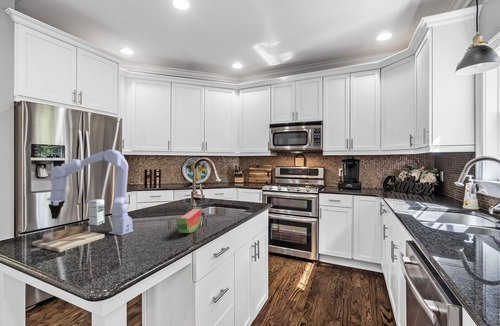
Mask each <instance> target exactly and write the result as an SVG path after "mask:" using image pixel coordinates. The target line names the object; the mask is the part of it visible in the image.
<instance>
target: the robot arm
mask: <svg viewBox="0 0 500 326" xmlns="http://www.w3.org/2000/svg"><path fill="white" fill-rule="evenodd" d="M99 161H105V162H108V163H110V164H112V165H113V166H114V167H115V168H117V172H116V183H115V197H114V201H113V204H112V205H113V206H112V207H111V209H110V213H111V215H112V231H111V230H110V231H109V232H108V234H112V235H117V236H123V235H126V234H129V233H132V232H135V230H134V229H133V218H132V217H131V216H129V214H128V211H129V204H128V198H127V191H128V189H127V188H128V177H129V175H128V173H129V164H128V162H127V160H126V158H125V156H124V154H123V153H122V152H120V151H119V150H117V149H114V150H113V149H106V150H103V151H100V152H98V153H97V152H96V153H95V154H93V155H90V156H88V157H85V158H84V159H77V158H76V159H75V158H73V159H71V160H70V162H67V163H62V164H60V165H61V166H60V165H56V166H54V167H53V168H52V169H51V170H50V175H51V176H52V181H51V189H50V197H48V198H46V200H47V201H50V203H49V204H48V208H49V210H50V215H51V219H52V220H57V219H58V218H59V215H60V214H61V210H62V208H63V206H64V204H65V202H66V189H67V181H68V177H69V176H70V175H72V174H74V173H77V172H79V171H82V170H83V169H84V168H85V166H89V165H91V164H93V163H97V162H99Z"/></svg>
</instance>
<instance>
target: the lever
mask: <svg viewBox="0 0 500 326" xmlns="http://www.w3.org/2000/svg"><path fill="white" fill-rule="evenodd" d="M84 231H87V224H86V223H82V224H80V225H75V226H72V227H68V228H64V229H60V230H56V231H51V232H45V233H43V234H42V239H43V242H49V241H52V240H55V239H59V238H62V237H66V236H69V235H73V234H77V233H80V232H84Z"/></svg>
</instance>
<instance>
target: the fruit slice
mask: <svg viewBox="0 0 500 326" xmlns="http://www.w3.org/2000/svg"><path fill="white" fill-rule="evenodd" d="M201 219H202V207H198V206H196V207H192V209H191V210H189V212H186V213H185V214H184V215H182V216H181V217H176V227H177V231H178V233H180V234H191V233H194V232H195V231H196V230H197V229H198V227H199V226H200V224H201Z"/></svg>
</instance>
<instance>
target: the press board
mask: <svg viewBox="0 0 500 326" xmlns="http://www.w3.org/2000/svg"><path fill="white" fill-rule="evenodd" d="M104 238H105V234H103V233H98V232H95V231H93V232H92V231H87V230H86V231H84V232H80V233H77V234H73V235H69V236H66V237H62V238H59V239H55V240H52V241H49V242H43V238H42V239H39V240H36V241H32V246H34V247H37V248H42V249H46V250H49V251H53V252H57V253H62V252H64V251H68V250H70V249H73V248H77V247H80V246H83V245H85V244H89V243H92V242H95V241H97V240H100V239H101V240H102V239H104Z"/></svg>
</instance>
